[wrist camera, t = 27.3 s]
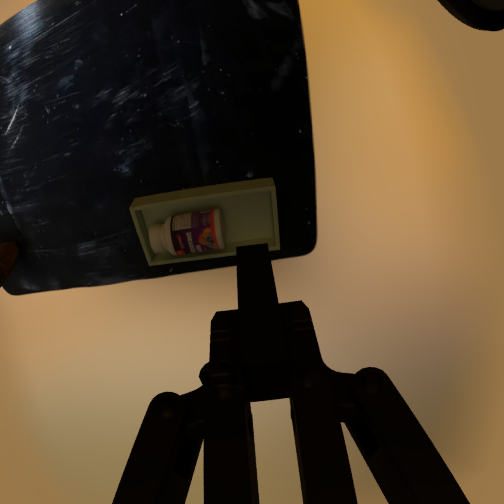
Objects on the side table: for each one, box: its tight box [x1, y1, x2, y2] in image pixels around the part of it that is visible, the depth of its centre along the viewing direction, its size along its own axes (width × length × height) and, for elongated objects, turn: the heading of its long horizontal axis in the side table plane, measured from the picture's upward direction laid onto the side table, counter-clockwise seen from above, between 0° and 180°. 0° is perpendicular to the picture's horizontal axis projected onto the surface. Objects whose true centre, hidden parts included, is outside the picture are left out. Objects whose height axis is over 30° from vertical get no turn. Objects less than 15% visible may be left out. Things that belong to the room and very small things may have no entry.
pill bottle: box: [149, 209, 226, 255], centre depth 40 cm, size 5×5×10 cm
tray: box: [129, 178, 280, 266], centre depth 42 cm, size 19×10×3 cm, turn 96°
